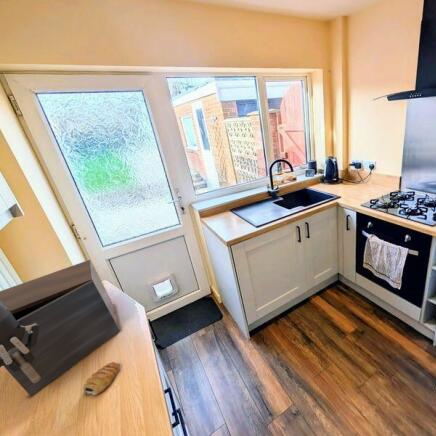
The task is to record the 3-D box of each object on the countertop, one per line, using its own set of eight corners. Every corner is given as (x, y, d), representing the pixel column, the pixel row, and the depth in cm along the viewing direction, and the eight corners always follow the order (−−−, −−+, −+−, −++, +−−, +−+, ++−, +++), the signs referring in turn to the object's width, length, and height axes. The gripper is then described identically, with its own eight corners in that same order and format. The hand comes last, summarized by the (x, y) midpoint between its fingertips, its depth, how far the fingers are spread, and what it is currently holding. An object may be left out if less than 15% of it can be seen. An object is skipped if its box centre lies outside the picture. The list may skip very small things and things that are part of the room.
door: (128, 336, 92) (101, 285, 82) (37, 406, 72) (-13, 350, 62) (118, 329, 95) (91, 280, 85) (29, 394, 75) (-20, 339, 65)
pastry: (109, 364, 82) (104, 356, 81) (125, 367, 81) (121, 359, 79) (82, 393, 74) (76, 385, 72) (100, 397, 72) (94, 389, 71)
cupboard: (119, 329, 96) (91, 279, 86) (27, 375, 81) (-18, 322, 71) (114, 305, 109) (89, 259, 99) (34, 341, 94) (-4, 292, 84)
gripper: (19, 297, 68) (50, 341, 75) (-60, 336, 57) (-16, 382, 64) (29, 305, 64) (60, 350, 72) (-53, 348, 54) (-7, 396, 61)
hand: (24, 365), depth 68 cm, fingers closed on door, 2 cm apart
